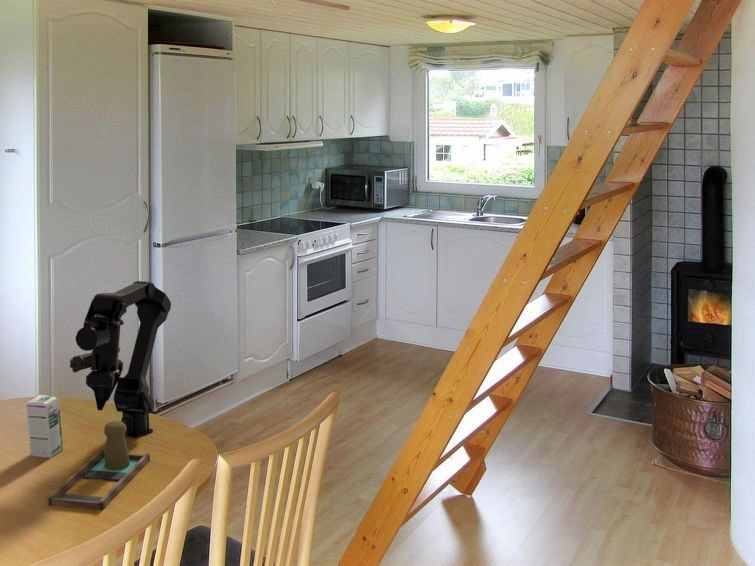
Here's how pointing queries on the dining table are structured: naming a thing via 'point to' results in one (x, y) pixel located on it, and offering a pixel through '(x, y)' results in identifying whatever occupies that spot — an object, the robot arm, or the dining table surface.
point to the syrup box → (44, 426)
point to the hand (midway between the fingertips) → (103, 405)
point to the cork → (116, 446)
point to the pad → (100, 467)
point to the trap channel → (85, 471)
